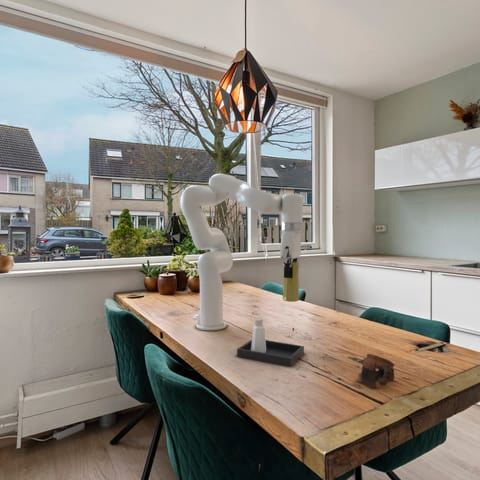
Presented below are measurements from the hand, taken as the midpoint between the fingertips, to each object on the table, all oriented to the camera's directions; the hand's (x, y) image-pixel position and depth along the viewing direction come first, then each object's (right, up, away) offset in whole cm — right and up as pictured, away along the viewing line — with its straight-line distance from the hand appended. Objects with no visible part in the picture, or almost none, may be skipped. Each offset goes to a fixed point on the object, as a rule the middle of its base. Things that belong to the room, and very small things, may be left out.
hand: (291, 276), depth 133 cm
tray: (-8, -25, -14) cm, 30 cm away
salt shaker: (-12, -24, -12) cm, 30 cm away
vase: (0, -9, 0) cm, 9 cm away
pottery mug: (+19, -26, -35) cm, 48 cm away
